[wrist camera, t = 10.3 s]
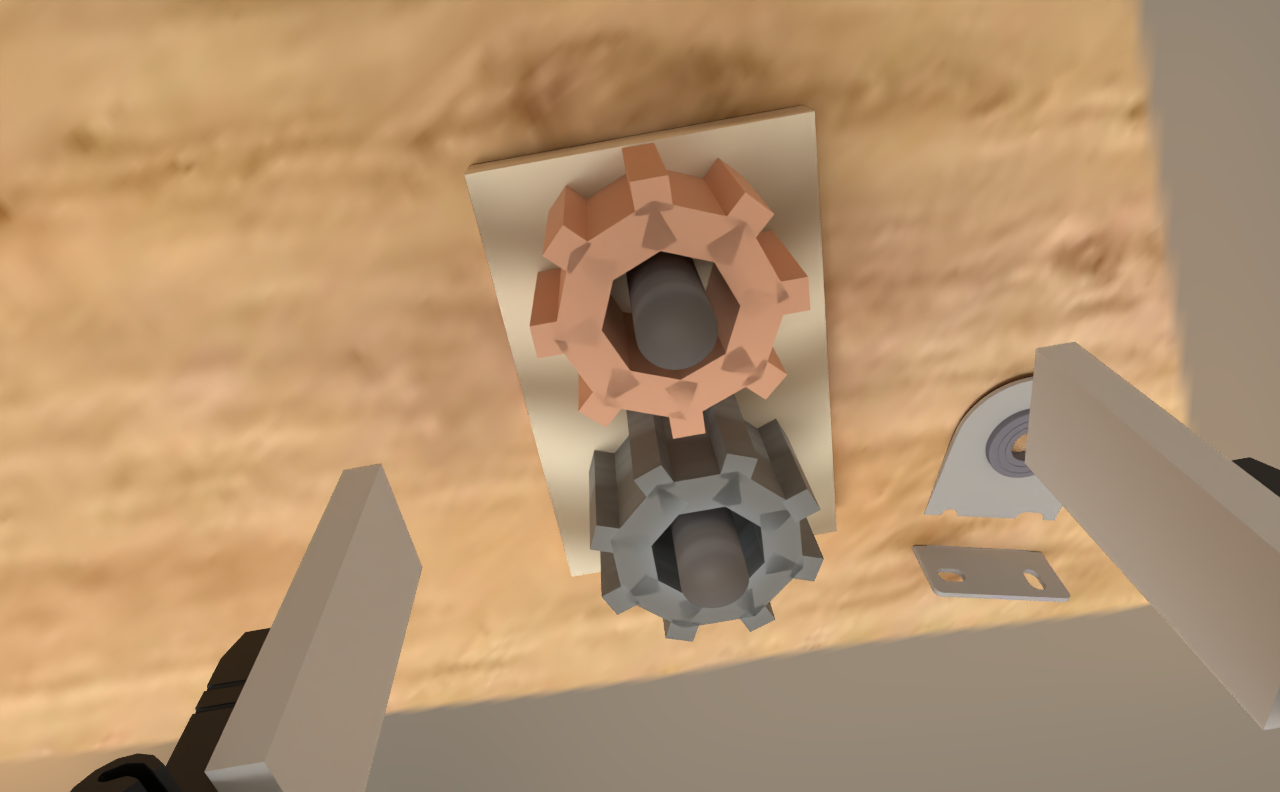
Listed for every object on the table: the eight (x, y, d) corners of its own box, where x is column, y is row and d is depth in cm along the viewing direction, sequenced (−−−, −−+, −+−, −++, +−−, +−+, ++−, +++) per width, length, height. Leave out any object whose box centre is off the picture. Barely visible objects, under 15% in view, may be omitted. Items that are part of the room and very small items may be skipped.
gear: (493, 232, 27) (477, 280, 23) (699, 97, 26) (724, 120, 21) (621, 405, 31) (628, 476, 27) (808, 296, 29) (849, 352, 25)
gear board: (469, 165, 28) (432, 228, 21) (803, 104, 27) (880, 147, 20) (572, 554, 36) (570, 693, 29) (827, 510, 36) (887, 640, 29)
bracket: (1113, 373, 34) (1166, 412, 31) (1032, 553, 39) (1071, 602, 36) (972, 362, 33) (1011, 401, 30) (907, 547, 38) (935, 597, 35)
